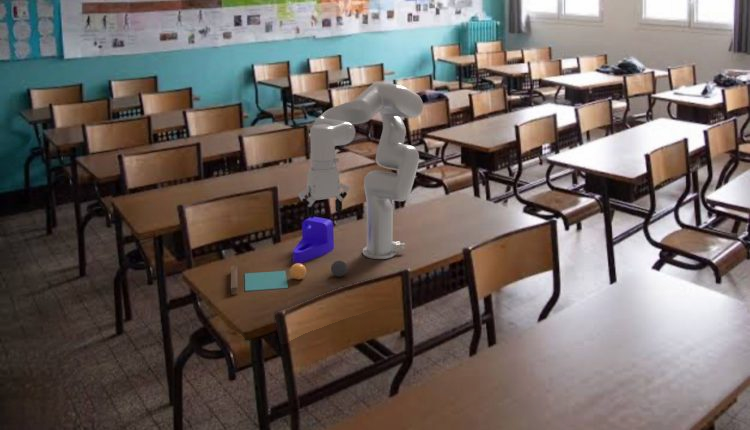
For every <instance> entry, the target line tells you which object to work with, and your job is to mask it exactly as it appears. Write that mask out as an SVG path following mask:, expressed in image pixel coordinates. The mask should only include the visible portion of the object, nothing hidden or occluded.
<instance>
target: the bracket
mask: <svg viewBox="0 0 750 430" xmlns="http://www.w3.org/2000/svg"><path fill="white" fill-rule="evenodd" d="M301 234H302V237H301V239H300V240H299V242H298V243H297V245H296V246H295V247H294V249H293V250H292V259H293V260H292V262H293V264H296V263H300V264H303V263H305V262H308V261H310V260H311V261H312V260H313V259H316V258H318V257H321V256H325V255H326V254H329V253H330V252H332V251H333V250H335V249H334V248H335V246H334V243H335V242H334V241H335V240H334V238H335V237H334V236H335V235H334V222H333V221H332V220H331V219H328V218H324V217H317V216H314V218H310V217H308V218H306V219H305V220H303V221H302V222H301Z"/></svg>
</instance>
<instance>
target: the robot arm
mask: <svg viewBox="0 0 750 430" xmlns="http://www.w3.org/2000/svg"><path fill="white" fill-rule="evenodd" d="M423 108H424V102H423V100H422V98H421V96H420V95H419V94H418V93H415V92H414V91H412V90H410V89H409V88H407V87H405V86H403V85H400V84H397V83H396V84H395V83H387V82H386V83H385V82H375V83H372V84H371V85H370V86H368V87H367V88H366V89H365V90H364V91H362V92H361V93H360V94H359V95H358V96H357V97H355V98H354V99H353V100H350V101H346V102H344V103H341V104H339V105H336V106H333V107H330V108H328V109H327V110H325V111H324V112H322V114H320V115H319V116H318V117H317V118H316V119H315V120H314V122H313V124H312V126H311V127H310V130H309V137H310V141H309V142H310V162H311V163H310V164H311V167H309V168H308V172H307V179H306V188H304V189H303V190H302V191H300V192H298V195H297V196H298V197H299V199H300V200H301V202H302V203H304V204H305V205H306V214H307V216H308V218H314V217H315V213H314V206H313V205H314V203H316V202H315V201H321V200H329V199H333V198H336V199H335V200H334V204H335V205H334V206H335V207H334V208H335V212H337V214H342V210H343V201H344V199H345V198H346V196H347V194H348V192H349V190H350V186H349V185H347V184H343V183H341V182H340V180H341V179H340V175H339V171H338V166H336V165H337V163H339V162H340V158H338V157H336V156H335V155H336V151H335V149H336V148H335V147H336V146H346V145H348V144H350V143H351V142H353V140H354V139H355V136H356V128H355V126H354V125H358V124H363V123H367V122H369V121H370V120H371V119H372V118H373V117H375V116H376V115H377V114H378V113H379V114H380V117H381V121H382V132H381V136H380V139H379V141H378V147H377V149H376V150H377V151H376V154H375V163H376V164H377V165H378V166H379V167H381V168H385V169H387V170H394V171H398V173H395V172H390V171H386V170H380V169H379V170H378V169H377V170H376V169H375V170H371V171H369V172H367V174H366V175H365V176H364V179H363V180H364V181H363V188H364V192H365V193H364V194H365V200H366V246H364V247H363V248H362V254H363V256H364V257H366V258H369V259H372V260H373V259H375V260H386V259H391V258H393V257H395V256H396V255H397V250H398V249H406V243H405V242H402V243H401V241H394V240H393V236H394V235H393V234H394V233H393V231H394V230H393V229H394V227H393V221H394V219H393V218H394V217H393V216H394V210H393V209H394V208H393V205H392V201H396V202H404V201H406V200H407V199H408V198H409V196H410V195H411V192H412V189H413V185H414V182H415V178H416V174H417V171H418V167H419V163H420V155H419V150H418V149H417V148H416V147H415V146H413V145H410V144H405V143H404V142H405V137H406V135H407V134H406V133H407V129H406V126H405V122H404V121H403V119H402V118H405V119H416V118H418V117H419V116H420V115H421V114H422V112H423ZM341 189H342V192H341ZM306 195H307V199H306V197H305V196H306Z"/></svg>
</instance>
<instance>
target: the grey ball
mask: <svg viewBox="0 0 750 430" xmlns="http://www.w3.org/2000/svg"><path fill="white" fill-rule="evenodd" d="M346 264H347V263H346V262H344V261H343V260H335V261H333V262H332V264H331V267H330V271H331V274H332V275H334V276H335V277H339V278H340V277H343V276H344V275H346V273H347V271H348V267H347V265H346Z"/></svg>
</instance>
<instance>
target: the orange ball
mask: <svg viewBox="0 0 750 430" xmlns="http://www.w3.org/2000/svg"><path fill="white" fill-rule="evenodd" d="M289 274H290V276H291V277H292V278H293V279H295V280H302V279H303V278H305V276H306V275H307V267H306V266H305V265H304V264H303V263H293V265H291V267H290V269H289Z"/></svg>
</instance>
